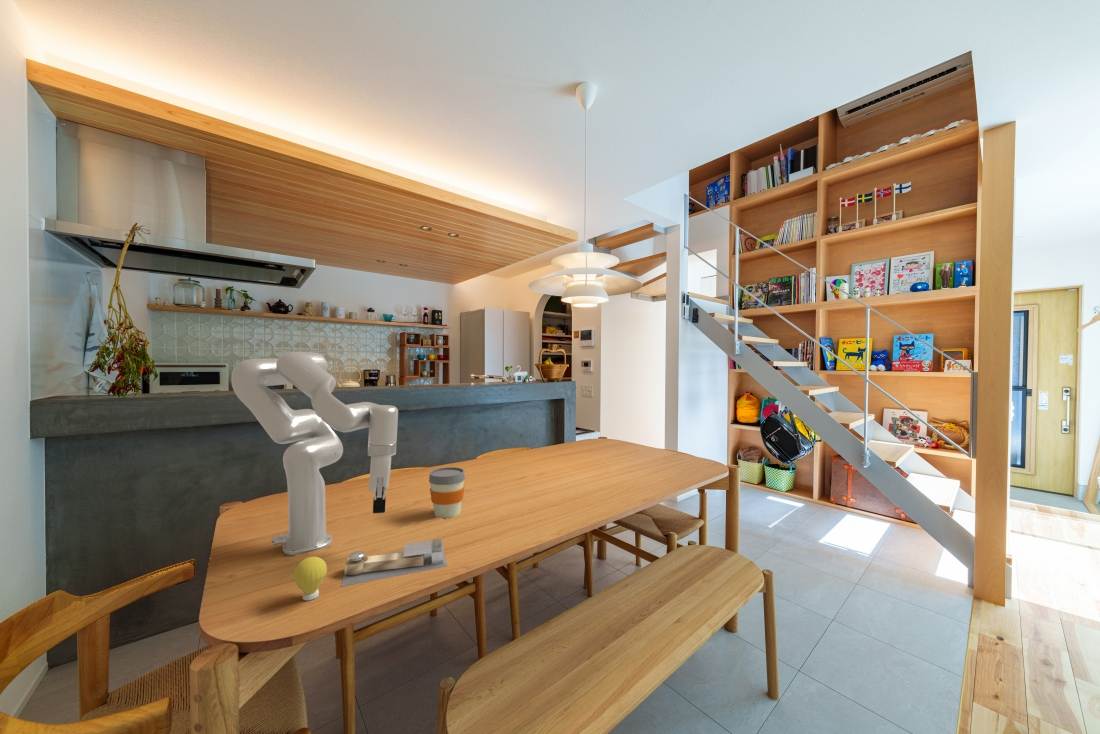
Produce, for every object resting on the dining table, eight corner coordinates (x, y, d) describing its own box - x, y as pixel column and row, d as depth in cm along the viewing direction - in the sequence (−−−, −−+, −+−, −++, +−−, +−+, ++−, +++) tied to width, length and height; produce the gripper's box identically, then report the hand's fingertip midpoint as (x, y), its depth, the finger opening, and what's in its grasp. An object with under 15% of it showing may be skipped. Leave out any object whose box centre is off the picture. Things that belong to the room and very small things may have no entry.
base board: (341, 590, 97) (341, 586, 97) (347, 563, 110) (347, 560, 110) (447, 569, 106) (447, 566, 106) (441, 547, 119) (441, 544, 119)
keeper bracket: (403, 569, 105) (403, 552, 105) (404, 559, 110) (404, 543, 110) (443, 563, 108) (443, 546, 108) (442, 554, 112) (442, 538, 112)
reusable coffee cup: (421, 516, 142) (421, 474, 142) (446, 504, 154) (445, 465, 153) (449, 522, 137) (448, 478, 136) (472, 510, 148) (472, 469, 147)
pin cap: (348, 564, 102) (348, 559, 102) (349, 557, 105) (349, 552, 105) (364, 561, 103) (364, 556, 103) (364, 555, 106) (364, 550, 106)
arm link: (343, 576, 101) (343, 567, 101) (348, 566, 106) (348, 557, 106) (423, 566, 105) (423, 557, 105) (424, 557, 110) (424, 548, 110)
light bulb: (333, 592, 96) (332, 550, 96) (317, 609, 90) (317, 565, 89) (304, 593, 96) (303, 551, 96) (287, 610, 89) (286, 566, 89)
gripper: (369, 442, 121) (366, 503, 122) (365, 456, 107) (362, 524, 108) (396, 442, 124) (393, 501, 124) (396, 455, 110) (392, 521, 110)
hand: (378, 511), depth 116 cm, fingers closed
